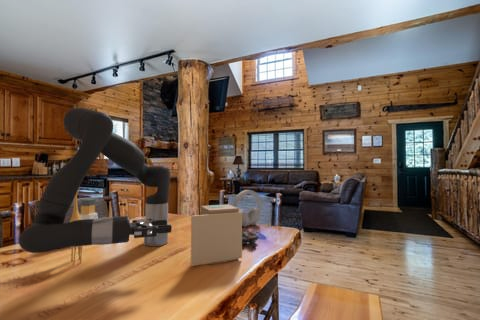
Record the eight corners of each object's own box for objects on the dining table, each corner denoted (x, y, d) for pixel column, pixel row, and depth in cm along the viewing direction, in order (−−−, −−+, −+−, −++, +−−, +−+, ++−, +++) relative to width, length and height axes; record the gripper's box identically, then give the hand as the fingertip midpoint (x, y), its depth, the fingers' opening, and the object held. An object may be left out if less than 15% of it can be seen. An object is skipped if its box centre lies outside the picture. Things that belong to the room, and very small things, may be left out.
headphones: (238, 230, 133) (238, 191, 134) (229, 227, 140) (229, 190, 140) (265, 225, 145) (265, 189, 145) (255, 222, 151) (255, 188, 152)
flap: (240, 256, 91) (240, 211, 92) (241, 257, 90) (242, 212, 91) (190, 264, 84) (191, 215, 84) (191, 265, 83) (192, 216, 83)
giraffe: (65, 255, 95) (67, 187, 95) (79, 252, 98) (80, 186, 98) (70, 269, 82) (72, 191, 83) (86, 265, 85) (88, 190, 85)
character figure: (76, 239, 115) (77, 199, 115) (102, 236, 120) (103, 197, 120) (74, 244, 108) (75, 201, 108) (102, 241, 113) (103, 199, 113)
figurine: (235, 220, 132) (267, 233, 106) (235, 231, 132) (268, 247, 106) (212, 223, 126) (240, 237, 100) (212, 234, 126) (240, 252, 100)
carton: (208, 264, 87) (209, 210, 87) (200, 255, 96) (201, 205, 96) (238, 259, 91) (238, 207, 92) (227, 251, 100) (228, 204, 101)
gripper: (110, 221, 67) (173, 217, 74) (112, 213, 80) (165, 210, 87) (109, 250, 67) (172, 243, 74) (111, 237, 80) (165, 232, 87)
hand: (168, 225), depth 80 cm, fingers open, 8 cm apart
